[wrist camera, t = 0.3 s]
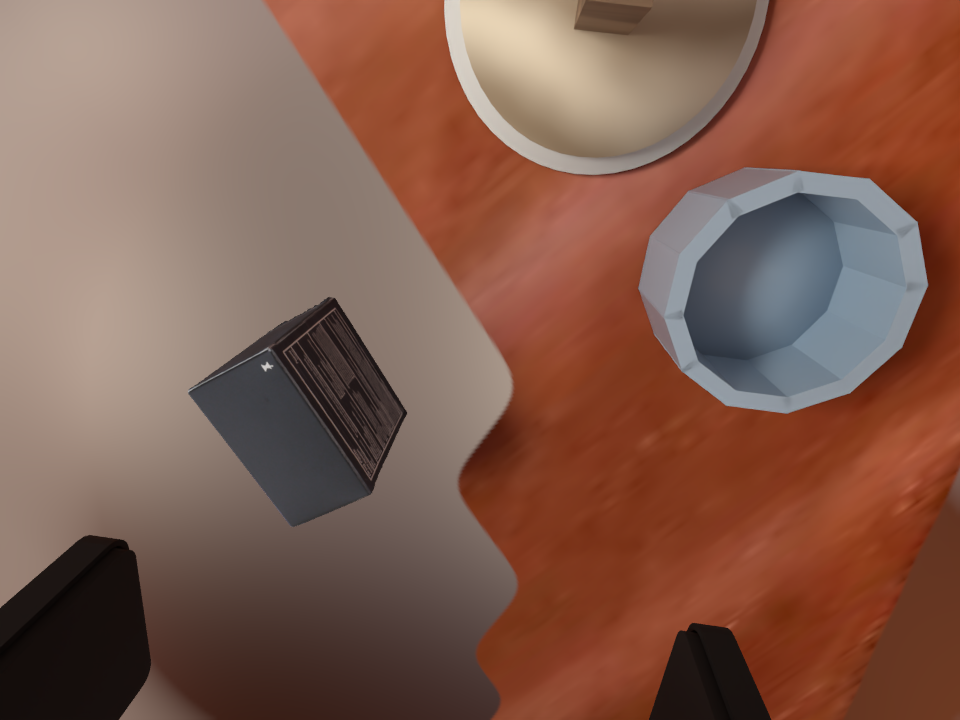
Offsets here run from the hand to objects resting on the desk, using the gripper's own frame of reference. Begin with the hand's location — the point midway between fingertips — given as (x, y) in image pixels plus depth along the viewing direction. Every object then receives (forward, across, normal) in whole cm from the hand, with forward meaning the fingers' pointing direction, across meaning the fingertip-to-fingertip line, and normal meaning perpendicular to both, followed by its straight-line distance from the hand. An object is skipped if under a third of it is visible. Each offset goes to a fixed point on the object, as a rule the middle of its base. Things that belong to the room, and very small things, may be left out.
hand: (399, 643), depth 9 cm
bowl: (+30, -16, -2) cm, 34 cm away
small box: (+30, +10, +9) cm, 33 cm away
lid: (+29, -4, -16) cm, 34 cm away
